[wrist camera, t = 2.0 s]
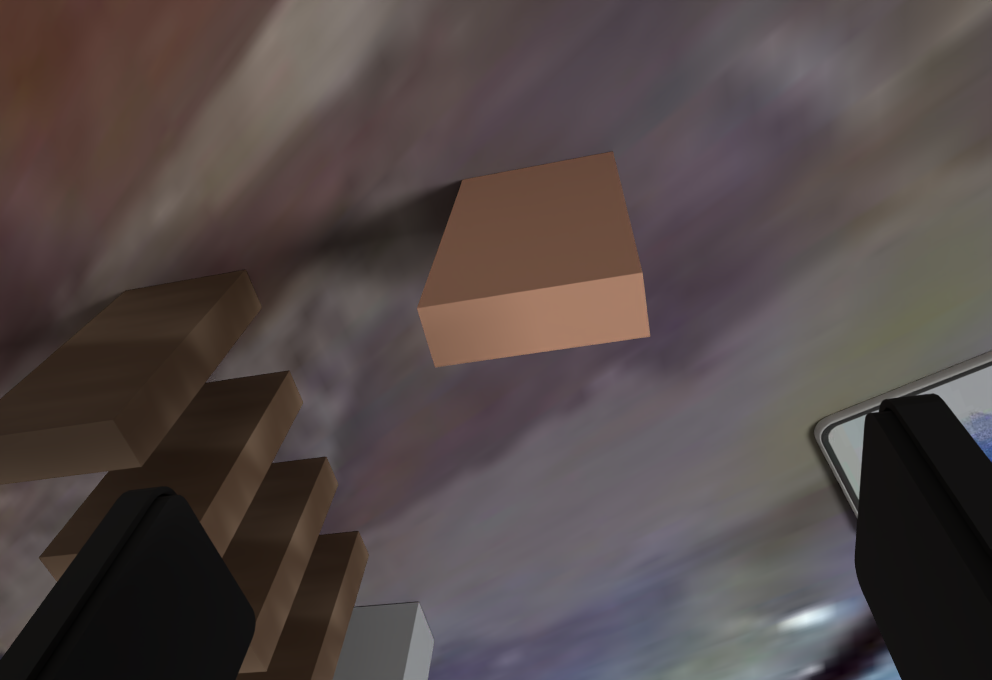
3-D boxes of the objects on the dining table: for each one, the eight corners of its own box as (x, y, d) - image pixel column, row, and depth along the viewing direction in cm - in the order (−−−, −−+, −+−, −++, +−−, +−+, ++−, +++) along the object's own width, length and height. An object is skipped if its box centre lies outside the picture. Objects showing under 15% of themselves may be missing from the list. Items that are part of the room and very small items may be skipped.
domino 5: (619, 198, 23) (650, 336, 16) (473, 224, 24) (435, 367, 16) (612, 151, 23) (642, 272, 15) (462, 179, 23) (417, 308, 16)
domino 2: (303, 402, 29) (210, 579, 21) (193, 418, 30) (65, 593, 22) (289, 370, 28) (188, 541, 20) (176, 387, 29) (38, 558, 21)
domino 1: (261, 307, 27) (141, 466, 19) (144, 326, 27) (-17, 486, 20) (245, 269, 26) (113, 419, 18) (125, 290, 27) (-50, 442, 19)
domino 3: (338, 484, 31) (266, 671, 23) (235, 496, 32) (132, 680, 24) (326, 456, 30) (247, 640, 22) (220, 469, 31) (110, 651, 23)
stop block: (434, 640, 36) (419, 726, 32) (290, 651, 37) (259, 735, 34) (418, 602, 35) (401, 687, 31) (269, 614, 36) (235, 698, 32)
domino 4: (368, 555, 33) (312, 747, 25) (271, 564, 34) (189, 753, 26) (358, 531, 32) (297, 722, 25) (259, 541, 33) (170, 729, 26)
